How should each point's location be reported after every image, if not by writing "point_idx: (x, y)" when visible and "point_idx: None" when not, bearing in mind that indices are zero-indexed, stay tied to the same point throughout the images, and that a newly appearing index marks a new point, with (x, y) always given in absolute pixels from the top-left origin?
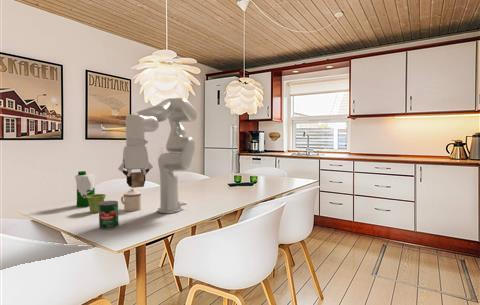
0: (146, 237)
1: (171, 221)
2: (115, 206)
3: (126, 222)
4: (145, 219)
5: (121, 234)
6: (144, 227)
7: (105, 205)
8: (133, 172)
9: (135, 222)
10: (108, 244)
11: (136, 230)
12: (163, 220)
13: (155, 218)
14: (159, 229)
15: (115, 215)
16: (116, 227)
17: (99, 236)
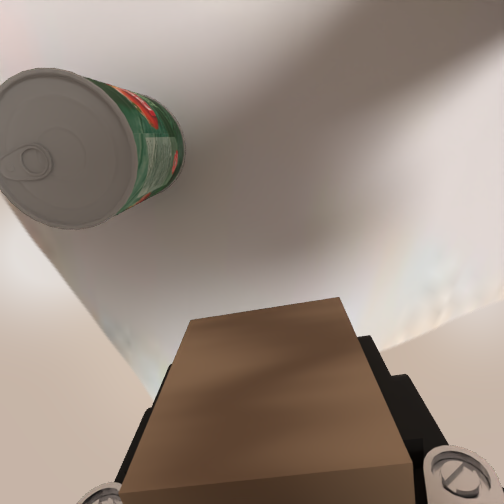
0: None
1: (466, 209)
2: (127, 204)
3: (230, 101)
4: (347, 87)
5: (194, 298)
6: (305, 247)
7: (50, 221)
8: (239, 490)
9: (279, 128)
10: (147, 381)
11: (262, 274)
12: (435, 166)
13: (409, 94)
14: (360, 309)
15: (149, 194)
16: (174, 180)
17: (106, 280)
